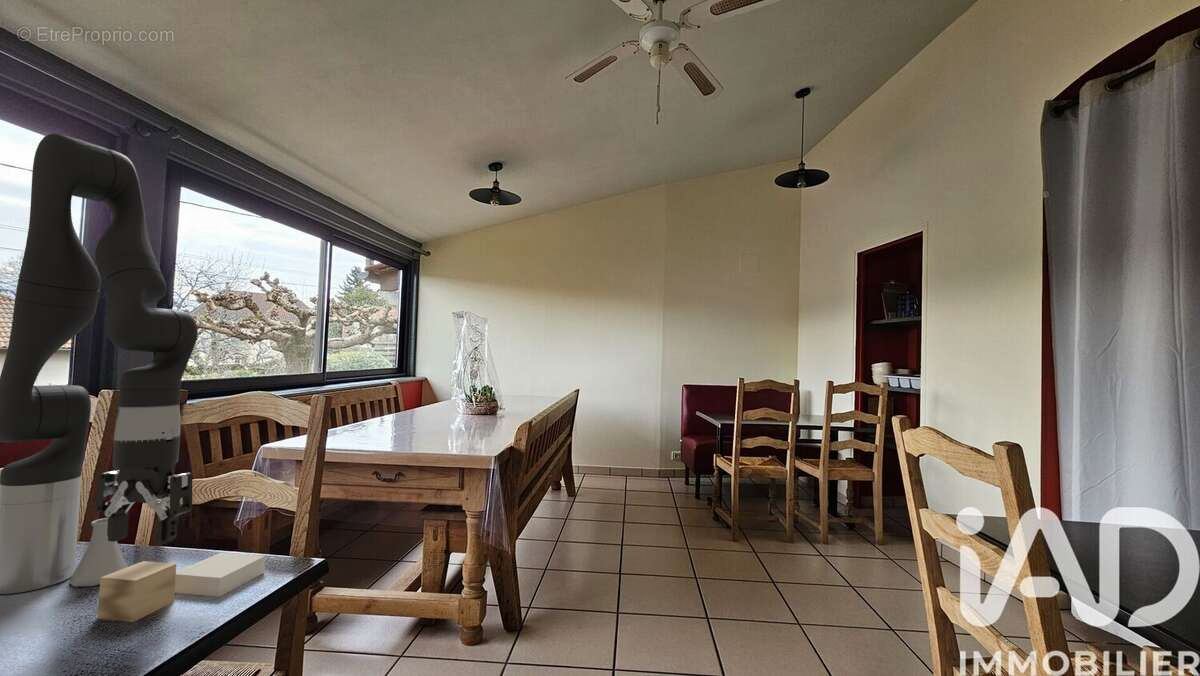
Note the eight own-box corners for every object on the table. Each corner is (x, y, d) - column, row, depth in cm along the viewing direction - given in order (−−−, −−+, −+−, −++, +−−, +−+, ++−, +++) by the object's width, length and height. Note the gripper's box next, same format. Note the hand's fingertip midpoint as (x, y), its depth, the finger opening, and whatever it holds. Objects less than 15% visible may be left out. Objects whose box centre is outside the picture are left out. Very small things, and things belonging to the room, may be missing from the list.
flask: (90, 590, 79) (95, 528, 80) (57, 585, 81) (62, 525, 81) (140, 572, 87) (144, 515, 87) (109, 568, 88) (113, 512, 89)
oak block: (97, 619, 71) (100, 577, 72) (140, 599, 77) (143, 561, 77) (133, 622, 70) (136, 580, 71) (173, 602, 76) (176, 563, 77)
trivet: (170, 592, 79) (171, 573, 79) (219, 569, 88) (220, 552, 88) (219, 596, 78) (220, 577, 78) (264, 573, 87) (265, 556, 87)
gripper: (80, 437, 72) (72, 548, 71) (164, 439, 70) (157, 553, 70) (134, 430, 80) (128, 531, 79) (211, 432, 78) (205, 535, 77)
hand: (141, 541), depth 74 cm, fingers open, 8 cm apart
